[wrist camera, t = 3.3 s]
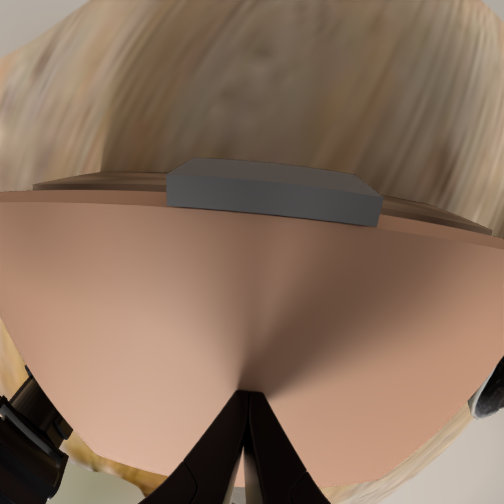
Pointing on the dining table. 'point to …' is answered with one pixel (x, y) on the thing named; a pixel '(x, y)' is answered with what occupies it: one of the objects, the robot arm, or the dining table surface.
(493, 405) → the mug
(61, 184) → the crate
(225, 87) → the dining table surface
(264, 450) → the robot arm
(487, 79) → the dining table surface
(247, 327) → the lid
